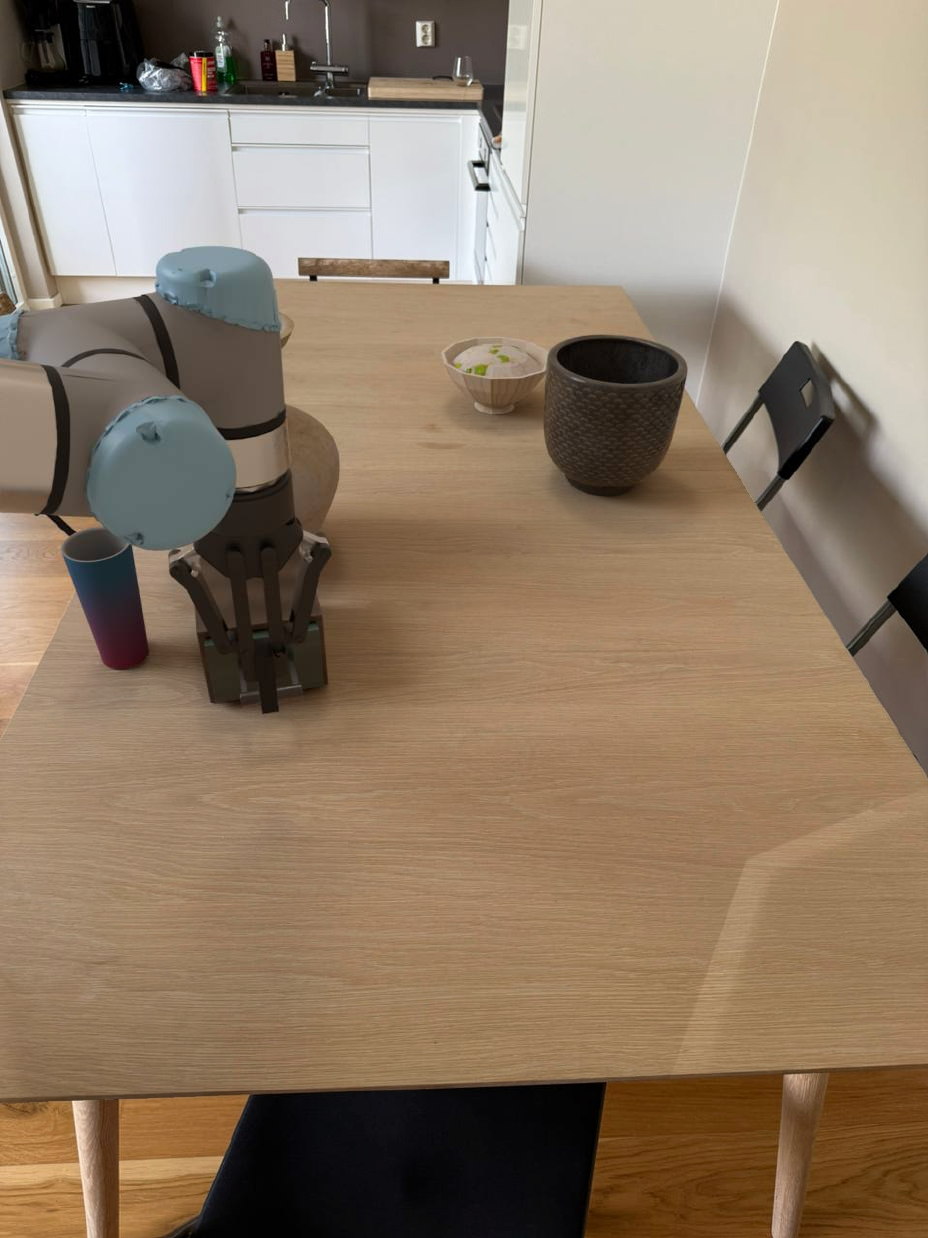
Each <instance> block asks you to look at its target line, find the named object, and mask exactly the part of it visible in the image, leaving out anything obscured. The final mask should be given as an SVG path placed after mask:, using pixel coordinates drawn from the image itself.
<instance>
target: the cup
mask: <svg viewBox="0 0 928 1238" xmlns="http://www.w3.org/2000/svg"><path fill="white" fill-rule="evenodd" d="M60 552H61V555H62V558H63V560H64V563H65V566H66V569H67V571H68V573H69V576H70V580H71V582H72V584H73V586H74V587H73V588H74V589H75V592H76V595H77V598H78V600H79V603H80V605H81V608H82V610H83V613H84V616H85V618H86V621H87V623H88V627H89V629H90V631H91V634H92V637H93V639H94V642H95V644H96V647H97V650H98V652H99V656H100V658H101V661H102V663H103V664H104V665H105V666H106V667H107V668H110V669H112V670H117V671H119V670H122V671H123V670H129V669H133V668H135V667H137V666H139V665H141V664H142V663H144V662H145V661H146V660H147V658H148V657H149V654H150V648H149V643H148V636H147V629H146V624H145V619H144V618H145V617H144V611H143V606H142V604H143V603H142V600H141V592H140V586H139V581H138V575H137V568H136V567H137V566H136V562H135V555H134V549H133V545H131V544H128V543H126V542H124V541H122V540H121V539H120V538H118V537H117V536H115V535H114V534H112V533H111V532H110V531H108V530H106V529H105V528H104V527H103V525H101V526H100V525H99V526H93V527H88V528H87V527H86V528H83V529H81V530H79V531H76V532H74V533H73V534H71V535H69V536H68V537H67V538H65V539H64V541H63V542H62V544H61V546H60Z"/></svg>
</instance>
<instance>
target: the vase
mask: <svg viewBox="0 0 928 1238" xmlns="http://www.w3.org/2000/svg"><path fill="white" fill-rule="evenodd" d="M279 318H280V321H281V324H282V330H281V331H280V336H281V350H282V349H283V348H284V347H285V346H286V345H287V343H288V342H289V339H290V337H291V335H292V333H293V331H294V329H295V323H294V320H293V319H292V318H291V317H289V316H288V315H287V314H285V313H282V312H280V311H279ZM285 406H286V413H287V423H288V434H289V445H290V456H291V463H290V467H289V469H290V470H291V472H292V482H293V494H294V506H295V515H296V517H297V519H298V520H299V521H300V523H301V525H302V529H303V530H304V531H307V532H309V533H311V534H316V533H318V532H321V529H322V527H323V524H324V522H325V519H326V517H327V515H328V513H329V511H330V509H331V506H332V504H333V502H334V499H335V495H336V493H337V489H338V486H339V481H340V469H341V466H340V463H341V462H340V452H339V449H338V447H337V444H336V441H335V439H334V437H333V435H332V434H331V433H330V431H329V430H328V429H327V428H326V427H325V425H324V424H323V423H321V422H320V421H319V420H318V419H316V418H315V417H313V415H312V414H310V413H308V412H306V411H304V410H302V409H300V408H298V407H296V406H293V405H290V404H288V403H285Z"/></svg>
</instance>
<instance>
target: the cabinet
mask: <svg viewBox="0 0 928 1238" xmlns="http://www.w3.org/2000/svg"><path fill="white" fill-rule="evenodd" d="M299 548H300V546H298V547H297V549H296V550H295V552H294V553H293V554H292V556H291V557H290V559H289V560H288V562H287V563H286V564H285V566H284V567H283V569H282V570H280V571H279V572H278V576H279V585H280V588H279V589H280V599H281V608H282V618H283V625H284V624H286V623H288V620H289V615H290V610H291V605H292V600H293V595H294V590H295V585H296V580H297V575H298V570H299V565H300V560H301V555H300V552H299ZM200 560H201V565H202V571H201V572H202V574H203V576H204V578H205V581H206V583H207V585H208V587H209V589H210V591H211V593H212V595H213V597H214V599H215V601H216V603H217V605H218V607H219V609H220V612H221V614H222V616H223V618H224V620H225V622H226V624H227V626H228V628H229V630H230V631H233V632H237V627H236V620H235V613H234V606H233V599H232V591H231V584H230V579H229V578H227V577H225V576H223V575H222V574H221V573H220V572H219V571H217V570H216V569H215V568H214V567H213V566H211V565H210V564H209V563H208V562H207V561H206V560H204V559H203V558H202V557H201V558H200ZM246 584H247V594H248V602H249V610H250V618H251V625H252V631H253V630H260V629H267V628H268V627H267V618H266V610H265V602H264V593H263V585H262V578H251V579H248V580H246ZM193 606H194V617H195V631H196V637H197V642H198V647H199V652H200V657H201V662H202V667H203V672H204V677H205V682H206V687H207V692H208V697H209V702H210V703H216V702H215V697H214V692H213V686H212V681H211V676H210V671H209V666H208V661H207V656H206V650H205V644H204V639H208V638H211V637H210V635H209V633H208V631H207V629H206V627H205V625H204V623H203V621H202V619H201V617H200V615H199V613H198V611H197V609H196V607H195V605H194V604H193ZM323 617H324V616H323V612H322V608H321V604H320V600H319V597H318V593H317V591H316V595H315V599H314V604H313V608H312V613H311V618H310V622H309V624H310V623H317V624H318V628H319V636H320V647H321V658H322V669H323V680H324V685H328V684H329V675H328V665H327V654H326V642H325V628H324V620H323V619H324V618H323Z"/></svg>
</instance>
